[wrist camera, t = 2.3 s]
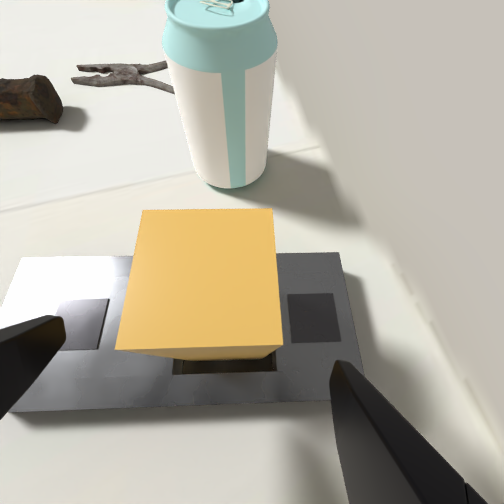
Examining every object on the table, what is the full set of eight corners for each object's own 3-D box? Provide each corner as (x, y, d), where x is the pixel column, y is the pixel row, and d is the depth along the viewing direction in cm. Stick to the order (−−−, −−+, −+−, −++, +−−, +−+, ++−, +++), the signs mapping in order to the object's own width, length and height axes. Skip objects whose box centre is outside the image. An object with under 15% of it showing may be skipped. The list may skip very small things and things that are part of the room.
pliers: (246, 91, 29) (66, 114, 26) (246, 98, 30) (71, 121, 27) (229, 48, 33) (72, 64, 30) (229, 55, 34) (76, 72, 31)
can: (190, 145, 25) (149, -22, 14) (256, 136, 26) (263, -29, 15) (199, 199, 22) (155, 38, 11) (273, 186, 23) (297, 26, 12)
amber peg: (261, 359, 16) (283, 344, 7) (194, 361, 16) (114, 349, 6) (258, 294, 18) (272, 208, 9) (198, 296, 18) (142, 210, 8)
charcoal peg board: (351, 394, 16) (370, 398, 13) (0, 407, 15) (-46, 414, 13) (328, 265, 20) (339, 251, 17) (49, 271, 19) (21, 257, 17)
